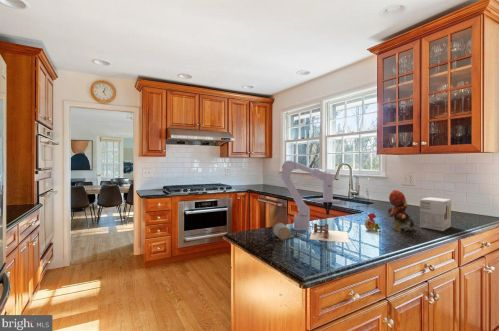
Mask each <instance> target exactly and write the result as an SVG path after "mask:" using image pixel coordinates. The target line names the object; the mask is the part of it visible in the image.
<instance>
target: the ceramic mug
mask: <svg viewBox="0 0 499 331" xmlns="http://www.w3.org/2000/svg"><path fill="white" fill-rule="evenodd" d="M273 234H274V235H275V236H276V237H277V238H278V239H280V240H283V241H285V240H288V239H289V238H291V239H293V238H295V235H294V234H293V233H291V230H290V228H289V227H288V226H286V224H285V223H283V222H278V223H276V224H275V225H274V227H273Z"/></svg>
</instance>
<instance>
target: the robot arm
mask: <svg viewBox="0 0 499 331" xmlns="http://www.w3.org/2000/svg"><path fill="white" fill-rule="evenodd" d="M293 170H301V171H303V172H305V173H309V174H310V175H311V176H312V177H313V178H315V179H318V180H319V181H323V182H322V183H323V184H322V188H323V189H322V194H323V195H322V198H315V203H323V207H324V209H325V214H326V215H327V216H329V215H330V211H331V208H332V206H333V204H339V205H340V204H341V199H333V196H334V192H333V191H334V186H333V182H334V180H335V177H334V175H333V174H332V173H329V172H327V170H323V169H321V168H320V167H314V168H312V167H309V166H307V165H305V164H302V163H300V162H296V161H292V160H285V161H283V163H282V165H281V176H280V178H281V179H282V181H283V183H284V185H285V187H286V188H287V190H288V192H289V194H290V196H292V198H293V201H294V202H295V204H296V207H297V211H298V213H297V214H294V215H293V230H296V231H307V232H308V231H309V232H310V231H311V227H310V212H311V209H310V207H309V206H308V205H307V204H306V202H305V201H304V200H303V198H302V196H301V195H300V193H299V191H298V189H297V188H296V186H295V184H294V182H293V181H292V179H291V174H292V172H293Z"/></svg>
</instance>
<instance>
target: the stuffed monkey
mask: <svg viewBox="0 0 499 331" xmlns="http://www.w3.org/2000/svg"><path fill="white" fill-rule="evenodd" d="M406 199H407V198H406V197H405V194H404V193H403V191H400V190H398V189H397V190H396V189H393V190H392V191H391V192H390V194H389V196H388V200H389V203H390V204H391V205H392V206H393V208H392V207H389V208H388V210H387V215H388V217H389V218H394V220H393V221H394V222H393V227H394V228H395V230H396V232H398V233H400V232H406V231H408V230H410V229H414V228H421V227H420V226H418V225H414V224H415V222H414V221H413V219H412V218H411V217H410V215H409V214H408V213H407V212H406V210H407V209H408V206H407V205H408V201H407V200H406ZM391 212H392V213H391ZM408 223H409V226H408V227H406V228H405V229H404V230H402V229H401V227H402V226H403V227H404V225H405V226H407V224H408Z"/></svg>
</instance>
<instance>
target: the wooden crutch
mask: <svg viewBox="0 0 499 331" xmlns="http://www.w3.org/2000/svg"><path fill="white" fill-rule="evenodd" d="M328 230H329V229H328ZM328 230H327V226H326V228H325V227H324V238H328Z"/></svg>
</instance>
